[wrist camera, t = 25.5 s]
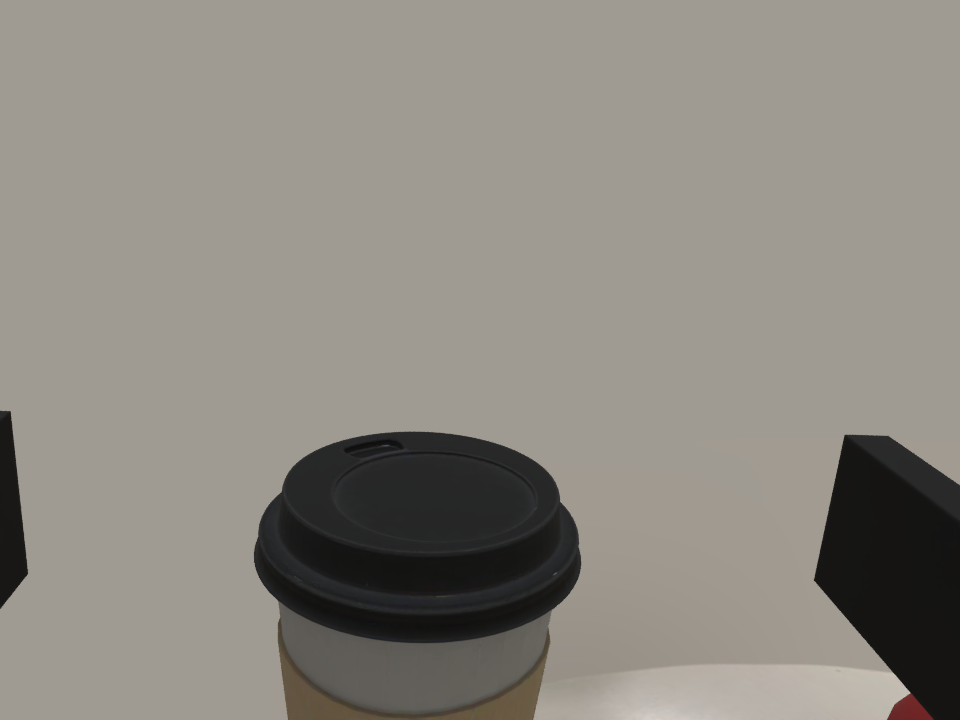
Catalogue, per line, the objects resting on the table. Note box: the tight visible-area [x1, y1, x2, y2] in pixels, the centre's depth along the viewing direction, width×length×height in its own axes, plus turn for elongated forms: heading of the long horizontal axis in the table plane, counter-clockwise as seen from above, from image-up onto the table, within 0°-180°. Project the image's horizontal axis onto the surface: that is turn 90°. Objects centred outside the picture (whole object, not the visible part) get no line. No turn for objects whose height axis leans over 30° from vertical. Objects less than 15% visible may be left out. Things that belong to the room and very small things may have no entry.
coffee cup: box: [254, 432, 581, 720], centre depth 26 cm, size 9×9×15 cm
